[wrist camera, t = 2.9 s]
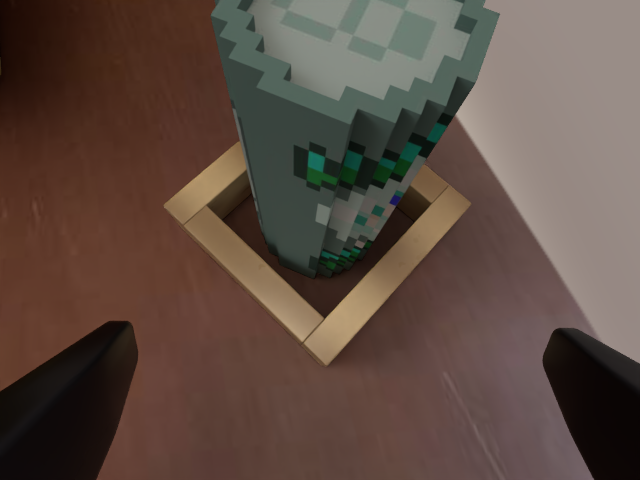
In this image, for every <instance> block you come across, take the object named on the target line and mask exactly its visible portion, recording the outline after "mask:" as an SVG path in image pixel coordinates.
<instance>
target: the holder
mask: <svg viewBox="0 0 640 480" xmlns="http://www.w3.org/2000/svg"><path fill="white" fill-rule="evenodd" d="M251 193H252V189H251V185H250V181H249V177H248V172H247V168H246V164H245V160H244V155H243V151H242V147H241V143H240V140H239V141H238V142H237V143H236V144H235V145H233V146H232V147H231V148H230V149H229V150H228V151H226V152H225V153H224V154H223V155H222V156H220V157H219V158H218V159H217V160H216V161H215V162H213V163H212V164H211V165H210V166H209V167H207V168H206V169H205V170H204V171H203V172H202V173H200V174H199V175H198V176H197V177H196V178H195V179H193V180H192V181H191V182H190V183H189V184H187V185H186V186H185V187H184V188H183V189H182V190H180V191H179V192H178V193H177V194H176V195H174V196H173V197H172V198H171V199H170V200H169V201H167V202H166V203H165V204H164V205H163V206H164V208H165V209H166V210H167V212H168V213H169V214H170V215H171V216H172V218H173V219H174V220H175V221H176V223H177V224H178V225H179V226H180V227H181V228H182V229H183V230H184V231H185V232H186V233H187V234H188V235H189V236H190V237H191V238H192V239H193V240H194V241H195V242H196V243H197V244H198V245H199V246H200V247H201V248H202V249H203V250H204V251H205V252H206V253H207V254H208V255H209V256H210V257H211V258H212V259H213V260H214V261H215V262H216V263H217V264H218V265H220V266H221V267H222V268H223V269H224V270H225V271H226V272H227V273H228V274H229V275H230V276H231V277H232V278H233V279H234V280H235V281H236V282H237V283H238V284H239V285H240V286H241V287H242V288H243V289H244V290H245V291H246V292H247V293H248V294H249V295H250V296H251V297H252V298H253V299H254V300H255V301H256V302H257V303H258V304H259V305H260V306H261V307H262V308H263V309H264V310H265V311H266V312H267V313H268V314H269V315H270V316H271V317H272V318H273V319H274V320H275V321H276V322H277V323H278V324H279V325H280V326H281V327H283V328H284V329H285V330H286V331H287V332H288V333H289V334H290V335H291V336H292V337H293V338H294V339H295V340H296V341H297V342H298V343H299V344H300V345H301V346H302V347H303V348H304V349H305V350H306V351H307V352H308V353H309V354H310V355H311V356H312V357H313V358H314V359H315V360H316V361H317V362H318V363H319V364H320V365H321V366H328V365H329V364H330V363H331V362H332V361H333V359H334V358H335V357H336V356H337V355H338V354H339V353H340V352H341V350H342V349H343V348H344V347H345V346H346V345H347V344H348V343H349V341H350V340H351V339H352V338H353V337H354V336H355V335H356V334H357V332H358V331H359V330H360V329H361V328H362V327H363V326H364V325H365V323H366V322H367V321H368V320H369V319H370V318H371V317H372V316H373V314H374V313H375V312H376V311H377V310H378V309H379V308H380V307H381V305H382V304H383V303H384V302H385V301H386V300H387V299H388V298H389V296H390V295H391V294H392V293H393V292H394V291H395V290H396V289H397V287H398V286H399V285H400V284H401V283H402V282H403V281H404V280H405V279H406V277H407V276H408V275H409V274H410V273H411V272H412V271H413V270H414V268H415V267H416V266H417V265H418V264H419V263H420V262H421V261H422V259H423V258H424V257H425V256H426V255H427V254H428V253H429V252H430V250H431V249H432V248H433V247H434V246H435V245H436V244H437V243H438V241H439V240H440V239H441V238H442V237H443V236H444V235H445V234H446V232H447V231H448V230H449V229H450V228H451V227H452V226H453V225H454V223H455V222H456V221H457V220H458V219H459V218H460V217H461V216H462V214H463V213H464V212H465V211H466V210H467V209H468V208H469V207H470V205H471V204H472V203H471V202H470V201H468V200H467V199H466V198H465V197H463V196H462V195H461V194H460V193H459V192H457V191H456V190H455V189H454V188H453V187H451V186H450V185H449V186H448V183H446V182H445V181H444V180H443V179H442V178H440V177H439V176H438V175H437V174H436V173H434V172H433V171H432V170H431V169H430V168H428V167H427V166H426V165H425V164H423V165H422V167H421V168H420V170H419V172H418V173H417V175H416V176H415V178H414V179H413V181H412V182H411V184H410V185H409V187H408V189H407V190H406V192H405V193H404V195H403V196H402V198H401V199H400V201H399V203H398V204H397V207H398V208H399V209H400V210H402V211H403V212H404V213H405V214H406V215H407V216H409V217H410V218H411V219H412V220H413V221H414V224H413V225H412V226H411V227H410V228H409V229H408V230H407V231H406V232H405V233H404V234H403V235H402V236H401V238H400V239H399V240H398V241H397V242H396V243H395V244H394V245H393V246H392V247H391V248H390V249H389V251H388V252H387V253H386V254H385V255H384V256H383V257H382V258H381V259H380V260H379V261H378V262H377V263H376V265H375V266H374V267H373V268H372V269H371V270H370V271H369V272H368V273H367V274H366V275H365V276H364V277H363V279H362V280H361V281H360V282H359V283H358V284H357V285H356V286H355V287H354V288H353V289H352V290H351V291H350V293H349V294H348V295H347V296H346V297H345V298H344V299H343V300H342V301H341V302H340V303H339V304H338V305H337V307H336V308H335V309H334V310H333V311H332V312H331V313H330V314H329V315H328V316H327V317H326V318H325V319H324V317H323V316H322V315H321V314H320V313H319V312H317V311H316V310H315V309H314V308H313V307H312V306H311V305H310V304H309V303H308V302H307V301H306V300H305V299H304V298H303V297H302V296H301V295H300V294H299V293H298V292H297V291H296V290H294V289H293V288H292V287H291V286H290V285H289V284H288V283H287V282H286V281H285V280H284V279H283V278H282V277H281V276H280V275H279V274H278V273H277V272H276V271H275V270H274V269H273V268H271V267H270V266H269V265H268V264H267V263H266V262H265V261H264V260H263V259H262V258H261V257H260V256H259V255H258V254H257V253H256V252H255V251H254V250H253V249H252V248H251V247H250V246H249V245H247V244H246V243H245V242H244V241H243V240H242V239H241V238H240V237H239V236H238V235H237V234H236V233H235V232H234V231H233V230H232V229H231V228H230V227H229V226H228V225H227V224H226V223H224V222H223V221H222V220H223V219H224V218H225V217H226V216H227V215H228V214H229V213H230V212H231V211H233V210H234V209H235V208H236V207H237V206H238V205H239V204H240V203H241V202H242V201H244V200H245V199H246V198H247V197H248V196H249V195H250V194H251Z"/></svg>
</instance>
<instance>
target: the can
mask: <svg viewBox="0 0 640 480" xmlns="http://www.w3.org/2000/svg"><path fill="white" fill-rule="evenodd" d="M484 3H485V0H215V4H216V7H215V9H214V11H213V12H212V14H211V20H212V24H213V28H214V32H215V37H216V41H217V45H218V49H219V54H220V58H221V62H222V66H223V71H224V75H225V79H226V83H227V88H228V92H229V96H230V100H231V104H232V109H233V113H234V117H235V121H236V126H237V130H238V134H239V138H240V143H241V147H242V151H243V155H244V160H245V164H246V168H247V172H248V177H249V181H250V185H251V189H252V194H253V198H254V202H255V206H256V211H257V215H258V219H259V223H260V227H261V232H262V234H263V235H264V238H265V243H266V244H268V249H269V253H271V254H274V255H276V256H279V263H280V265H281V266H284V267H286V268H288V269H291V270H293V271H296V272H298V273H300V274H303V275H305V276H307V277H310V278H312V279H314V277H315V275H316V273H319V274H321V275H324V276H326V277H329V278H330V277H331V275H332V273H333V272H335V273H338V274H340V273H341V271H342V269H343V268H344V269H347V270H350V268H351V267H352V265H353V263H354V262H355V260H356V258H357V259H359V260H362V258H363V257H364V255H365V254H366V252H367V251H368V249H369V247H370V246H371V244H372V243H373V241H374V240H375V238H376V237H377V235H378V234H379V232H380V230H381V229H382V227H383V226H384V224H385V223H386V221H387V220H388V218H389V216H390V215H391V213H392V212H393V210H394V209H395V207H396V206H397V204H398V203H399V201H400V199H401V198H402V196H403V195H404V193H405V192H406V190H407V189H408V187H409V185H410V184H411V182H412V181H413V179H414V178H415V176H416V175H417V173H418V172H419V170H420V168H421V167H422V165H423V164H424V162H425V161H426V159H427V158H428V156H429V154H430V153H431V151H432V150H433V148H434V147H435V145H436V144H437V142H438V140H439V139H440V137H441V136H442V134H443V133H444V131H445V130H446V128H447V127H448V125H449V123H450V122H451V120H452V119H453V117H454V116H455V114H456V113H457V111H458V109H459V108H460V106H461V105H462V103H463V102H464V100H465V99H466V97H467V96H468V94H469V92H470V91H471V89H472V88H473V86H474V84H475V83H476V80H477V78H478V75H479V72H480V69H481V66H482V63H483V60H484V58H485V55H486V52H487V49H488V46H489V44H490V41H491V38H492V35H493V32H494V29H495V27H496V24H497V21H498V18H499V15H500V14H499V13H497V12H494V11H491V10H489V9H486V8H483V5H484Z"/></svg>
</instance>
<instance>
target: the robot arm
mask: <svg viewBox="0 0 640 480" xmlns="http://www.w3.org/2000/svg"><path fill="white" fill-rule="evenodd" d="M137 360H138V349H137V344H136V339H135V335H134V330H133V326H132V324H131V323H130V322H129V321H108V322H107V323H105V324H103V325H102V326H100V327H99V328H97V329H96V330H94V331H93V332H91V333H89V334H88V335H86V336H85V337H83V338H82V339H80V340H79V341H77V342H76V343H74V344H73V345H71V346H69V347H68V348H66V349H65V350H63V351H62V352H60V353H59V354H57V355H56V356H54V357H53V358H51V359H50V360H48V361H46V362H45V363H43V364H42V365H40V366H39V367H37V368H36V369H34V370H33V371H31V372H30V373H28V374H26V375H25V376H23V377H22V378H20V379H19V380H17V381H16V382H14V383H13V384H11V385H10V386H8V387H6V388H5V389H3V390H2V391H0V480H96V479H97V476H98V474H99V472H100V469H101V467H102V465H103V462H104V460H105V458H106V455H107V453H108V451H109V448H110V446H111V443H112V441H113V438H114V436H115V433H116V430H117V427H118V424H119V421H120V418H121V415H122V411H123V408H124V405H125V401H126V398H127V395H128V391H129V388H130V385H131V381H132V378H133V375H134V371H135V368H136V365H137ZM543 367H544V370H545V372H546V375H547V377H548V380H549V382H550V385H551V387H552V390H553V392H554V395H555V397H556V400H557V402H558V405H559V407H560V409H561V412H562V414H563V417H564V419H565V422H566V424H567V427H568V429H569V431H570V433H571V436H572V438H573V440H574V442H575V444H576V446H577V448H578V450H579V451H580V453H581V455H582V457H583V459H584V461H585V463H586V465H587V467H588V469H589V471H590V473H591V475H592V477H593V478H594V480H640V364H639V363H637V362H635V361H634V360H632V359H630V358H629V357H627V356H625V355H623V354H621V353H620V352H618V351H616V350H614V349H612V348H610V347H609V346H607V345H605V344H603V343H602V342H600V341H598V340H596V339H594V338H593V337H591V336H589V335H587V334H585V333H584V332H582V331H580V330H578V329H575V328H558V329H555V330H554V331H553V333H552V335H551V337H550V340H549V342H548V345H547V347H546V350H545V352H544V355H543Z"/></svg>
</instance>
